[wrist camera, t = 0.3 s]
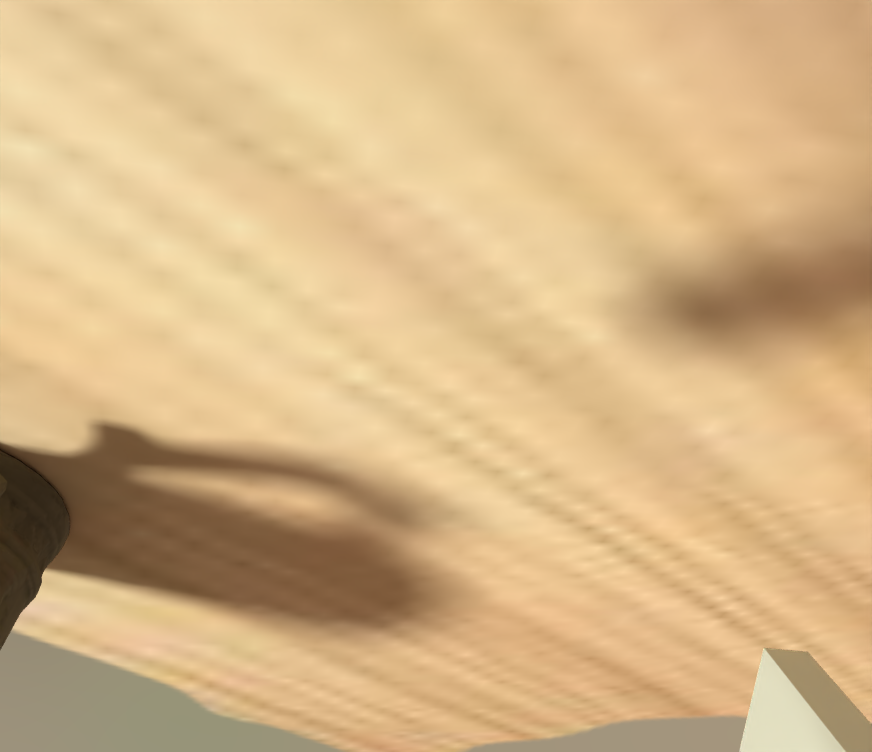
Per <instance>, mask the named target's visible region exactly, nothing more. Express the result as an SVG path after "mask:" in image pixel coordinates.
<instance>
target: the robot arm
mask: <svg viewBox="0 0 872 752" xmlns="http://www.w3.org/2000/svg"><path fill="white" fill-rule="evenodd" d="M739 752H872V724H871V723H870V722H869V721H868V720H867V718H866V717H865V716H864V715H863V714H862V713H861V712H860V710H859V709H858V708H857V707H856V706H855V705H854V704H853V703H852V701H851V700H850V699H849V698H848V697H847V696H846V695H845V693H844V692H843V691H842V690H841V689H840V688H839V687H838V685H837V684H836V683H835V682H834V681H833V680H832V679H831V678H830V676H829V675H828V674H827V673H826V672H825V671H824V670H823V668H822V667H821V666H820V665H819V664H818V663H817V662H816V661H815V659H814V658H813V657H812V656H811V655H810V654H809V653H808V652H803V651H793V650H782V649H771V648H764V649H763V654H762V658H761V662H760V666H759V670H758V675H757V679H756V683H755V687H754V692H753V696H752V700H751V704H750V708H749V713H748V717H747V721H746V725H745V730H744V734H743V739H742V742H741V746H740V751H739Z"/></svg>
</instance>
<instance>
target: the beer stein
mask: <svg viewBox="0 0 872 752" xmlns="http://www.w3.org/2000/svg"><path fill="white" fill-rule="evenodd" d="M69 530H70V522H69V514H68V512H67V510H66V507H65V505H64V503H63V500H62V498H61V497H60V496H59V494H58V493H57V492H56V490H55V489H54V488H53V487H52V486H51V485H49V484H48V483H47V482H46V481H45V480H44V479H43V478H42V477H41V476H40V475H39V474H37V473H36V472H34V471H33V470H32V469H30V468H29V467H27V466H26V465H25V464H23V463H22V462H20V461H19V460H17V459H15V458H13V457H11V456H9V455H7V454H6V453H4V452H2V451H0V650H1V648H2V646H3V644H4V642H5V640H6V639H7V637H8V635H9V633H10V631H11V630H12V628H13V626H14V624H15V622H16V620H17V619H18V617H19V615H20V613H21V612H22V611H23V610H24V609H25V608H26V607H27V606H28V605H29V604H30V602H31V601H32V600H33V599H34V598H35V597H36V595H37V593H38V591H39V588H40V586H41V583H42V578H41V577H42V574H43V572H44V569H45V568H46V567H47V566H48V565H49V564H50V562H51V561H52V560H53V559H54V558H55V556H56V555H57V554H58V553H59V551H60V550H61V549H62V547H63V545H64V543H65V541H66V539H67V537H68V535H69Z"/></svg>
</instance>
